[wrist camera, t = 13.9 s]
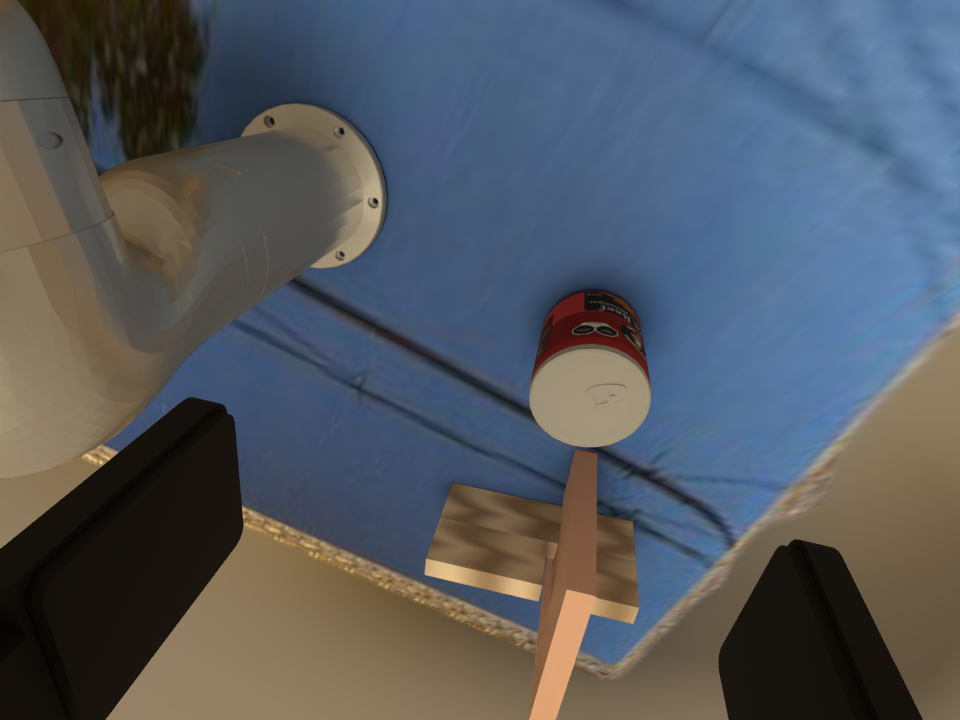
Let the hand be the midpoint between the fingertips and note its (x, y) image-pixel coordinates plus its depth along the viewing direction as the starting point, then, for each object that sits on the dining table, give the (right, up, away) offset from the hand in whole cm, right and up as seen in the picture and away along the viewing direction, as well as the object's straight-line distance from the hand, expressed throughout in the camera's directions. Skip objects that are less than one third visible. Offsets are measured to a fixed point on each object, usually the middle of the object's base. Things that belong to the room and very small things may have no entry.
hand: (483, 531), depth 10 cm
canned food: (+9, +5, +37) cm, 39 cm away
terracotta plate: (+9, -12, +46) cm, 49 cm away
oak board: (+6, -12, +47) cm, 48 cm away
